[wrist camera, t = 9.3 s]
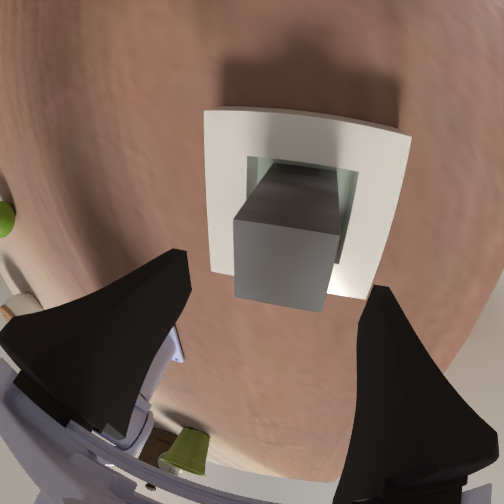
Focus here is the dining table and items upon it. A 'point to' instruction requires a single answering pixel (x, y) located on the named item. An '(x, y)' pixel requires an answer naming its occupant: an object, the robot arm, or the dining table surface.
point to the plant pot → (189, 451)
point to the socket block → (309, 155)
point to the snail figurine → (6, 219)
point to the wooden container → (158, 452)
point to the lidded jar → (20, 306)
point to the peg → (288, 238)
